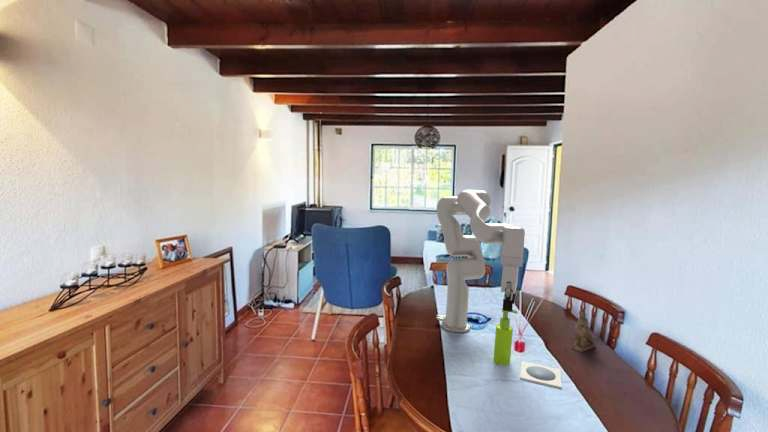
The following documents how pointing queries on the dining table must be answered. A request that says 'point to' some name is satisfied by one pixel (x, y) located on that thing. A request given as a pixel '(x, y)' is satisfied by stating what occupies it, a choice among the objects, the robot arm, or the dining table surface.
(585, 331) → the brown carved statuette
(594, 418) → the dining table surface
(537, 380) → the card
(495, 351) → the soap dispenser
